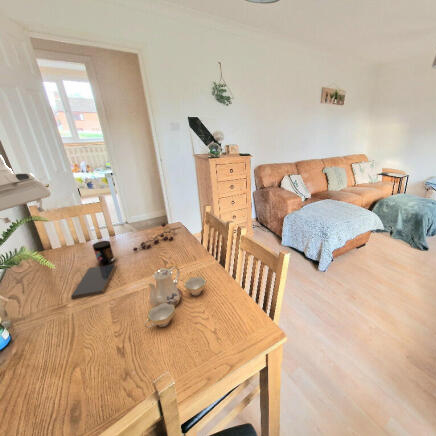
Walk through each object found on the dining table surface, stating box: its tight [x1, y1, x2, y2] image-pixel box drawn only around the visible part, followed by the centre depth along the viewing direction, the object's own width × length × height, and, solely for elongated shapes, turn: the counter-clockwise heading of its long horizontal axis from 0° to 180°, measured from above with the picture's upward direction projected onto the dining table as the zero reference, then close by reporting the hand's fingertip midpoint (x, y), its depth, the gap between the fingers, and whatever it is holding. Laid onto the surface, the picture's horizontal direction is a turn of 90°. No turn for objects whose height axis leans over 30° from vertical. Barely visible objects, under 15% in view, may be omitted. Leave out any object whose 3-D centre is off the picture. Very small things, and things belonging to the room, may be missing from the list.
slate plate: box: [71, 263, 116, 300], centre depth 104 cm, size 10×20×2 cm, turn 22°
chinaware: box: [144, 266, 207, 329], centre depth 91 cm, size 28×17×17 cm, turn 167°
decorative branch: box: [132, 222, 182, 252], centre depth 138 cm, size 11×9×30 cm
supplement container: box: [92, 240, 116, 266], centre depth 115 cm, size 7×7×10 cm
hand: (25, 216), depth 90 cm, fingers open, 8 cm apart
